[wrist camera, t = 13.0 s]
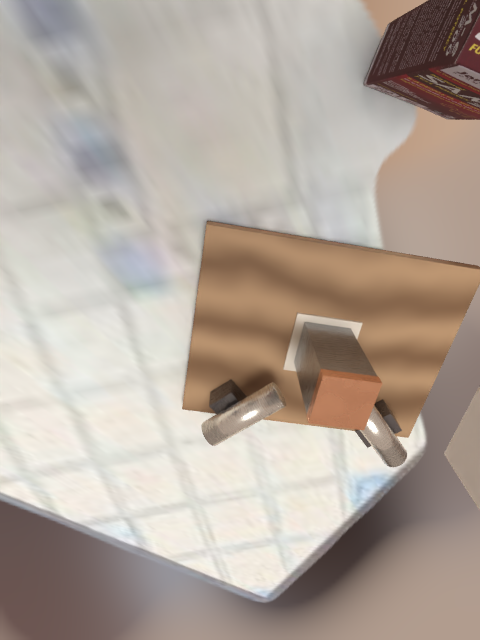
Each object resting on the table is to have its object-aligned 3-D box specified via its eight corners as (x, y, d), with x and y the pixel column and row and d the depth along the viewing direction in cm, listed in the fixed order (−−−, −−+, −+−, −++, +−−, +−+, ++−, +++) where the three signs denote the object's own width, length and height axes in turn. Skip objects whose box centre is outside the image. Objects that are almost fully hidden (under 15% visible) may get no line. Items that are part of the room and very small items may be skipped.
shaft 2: (330, 391, 46) (342, 423, 41) (364, 373, 45) (380, 403, 40) (367, 439, 50) (381, 474, 45) (399, 423, 48) (417, 456, 44)
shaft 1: (264, 359, 44) (268, 388, 39) (285, 385, 46) (291, 416, 41) (200, 397, 46) (196, 429, 42) (222, 421, 48) (221, 455, 43)
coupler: (304, 321, 42) (323, 375, 33) (351, 327, 42) (382, 383, 33) (293, 361, 44) (308, 423, 35) (338, 368, 44) (364, 430, 36)
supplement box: (360, 87, 34) (450, 63, 20) (387, 21, 32) (508, -58, 18) (448, 123, 35) (592, 125, 21) (479, 62, 33) (661, 18, 19)
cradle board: (207, 220, 39) (206, 225, 37) (477, 265, 41) (487, 271, 40) (183, 401, 49) (181, 410, 47) (403, 429, 51) (409, 439, 49)
